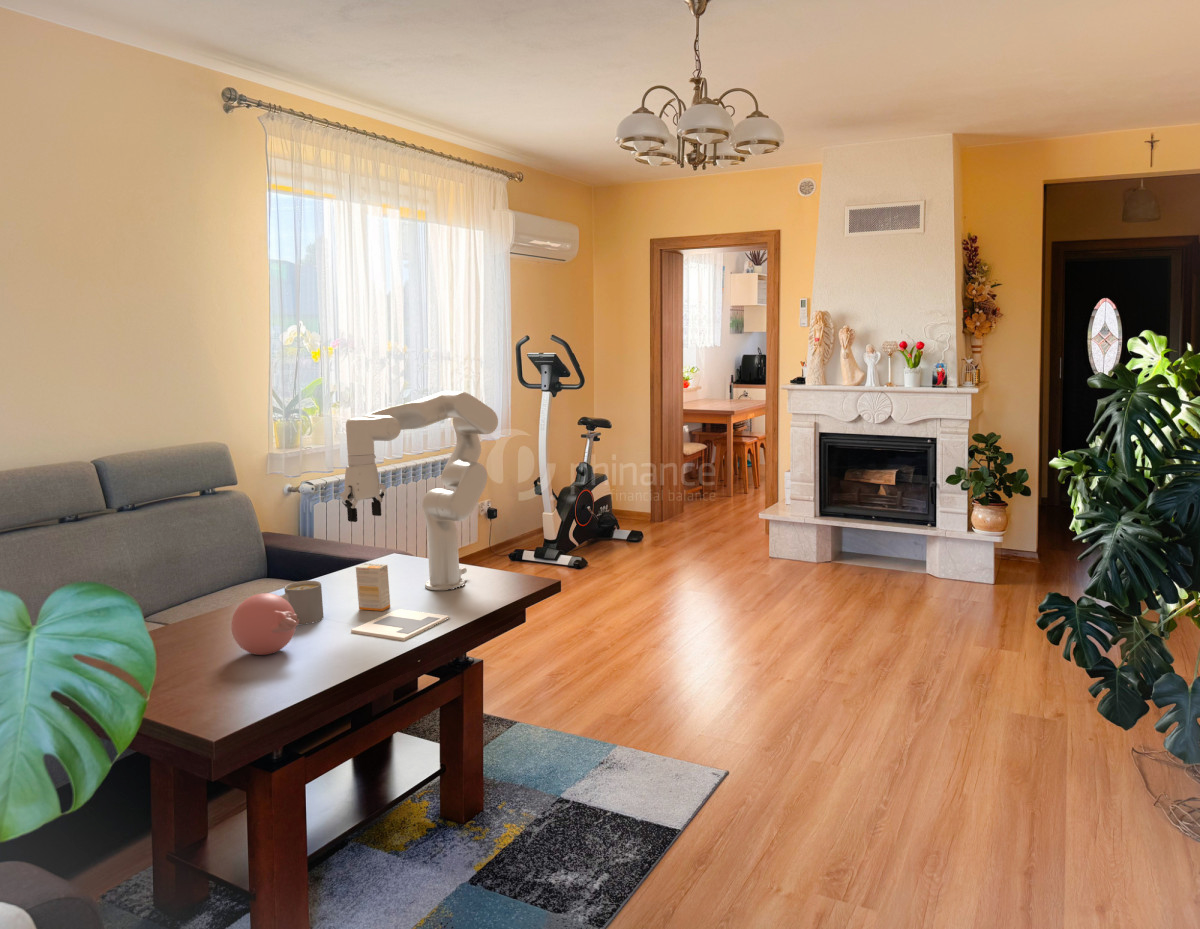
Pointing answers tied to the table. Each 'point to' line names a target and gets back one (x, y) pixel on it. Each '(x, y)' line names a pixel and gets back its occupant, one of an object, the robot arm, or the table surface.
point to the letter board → (400, 624)
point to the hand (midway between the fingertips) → (365, 518)
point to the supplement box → (373, 587)
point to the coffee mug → (305, 600)
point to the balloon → (264, 624)
